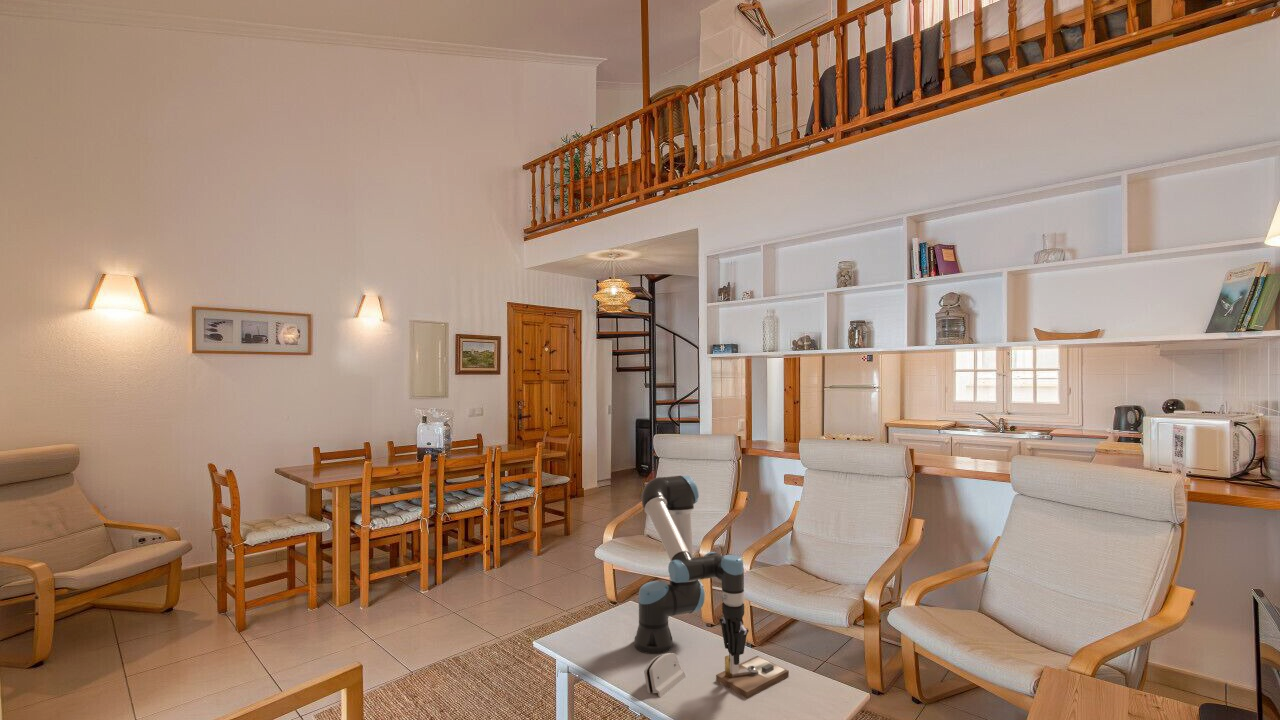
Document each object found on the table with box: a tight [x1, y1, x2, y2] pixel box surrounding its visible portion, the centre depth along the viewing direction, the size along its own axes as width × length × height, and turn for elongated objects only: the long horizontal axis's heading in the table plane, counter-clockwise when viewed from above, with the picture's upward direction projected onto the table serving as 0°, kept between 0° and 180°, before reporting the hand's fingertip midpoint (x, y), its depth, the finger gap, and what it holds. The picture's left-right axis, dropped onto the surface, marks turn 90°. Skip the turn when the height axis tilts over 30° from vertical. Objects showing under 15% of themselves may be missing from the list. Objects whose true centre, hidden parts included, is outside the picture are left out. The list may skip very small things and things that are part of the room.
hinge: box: [643, 652, 687, 698], centre depth 199 cm, size 17×5×10 cm, turn 144°
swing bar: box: [724, 654, 757, 677], centre depth 201 cm, size 12×3×6 cm, turn 105°
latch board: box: [715, 655, 789, 699], centre depth 202 cm, size 14×22×4 cm, turn 129°
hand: (734, 672), depth 197 cm, fingers closed
